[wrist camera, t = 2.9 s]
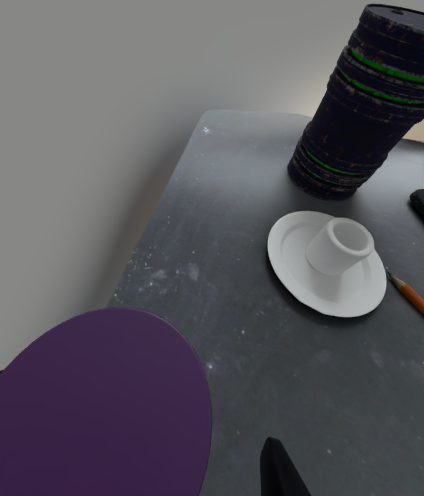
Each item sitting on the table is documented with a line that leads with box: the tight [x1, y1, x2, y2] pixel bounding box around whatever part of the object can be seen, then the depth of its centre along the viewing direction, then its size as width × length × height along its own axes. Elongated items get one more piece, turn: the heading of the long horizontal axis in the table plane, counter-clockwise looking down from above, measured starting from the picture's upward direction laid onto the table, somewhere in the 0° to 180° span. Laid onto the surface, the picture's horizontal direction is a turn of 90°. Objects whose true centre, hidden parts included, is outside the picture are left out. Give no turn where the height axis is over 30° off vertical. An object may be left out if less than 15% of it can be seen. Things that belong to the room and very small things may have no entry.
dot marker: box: [0, 307, 212, 496], centre depth 9 cm, size 4×4×13 cm
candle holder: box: [268, 211, 386, 317], centre depth 20 cm, size 12×12×4 cm
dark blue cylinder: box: [288, 4, 424, 201], centre depth 23 cm, size 10×10×15 cm
